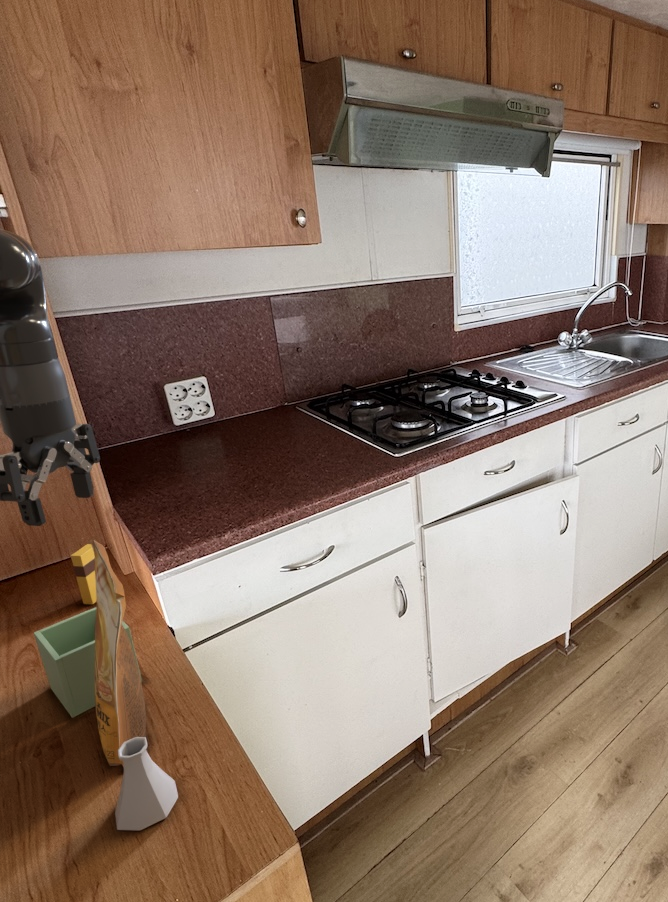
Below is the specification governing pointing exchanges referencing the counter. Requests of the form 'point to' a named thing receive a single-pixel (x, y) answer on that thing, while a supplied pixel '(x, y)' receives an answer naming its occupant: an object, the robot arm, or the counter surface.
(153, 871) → the counter surface
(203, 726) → the counter surface
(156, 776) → the flask
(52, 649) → the trash can
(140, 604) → the counter surface
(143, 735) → the pancake mix bag
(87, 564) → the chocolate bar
